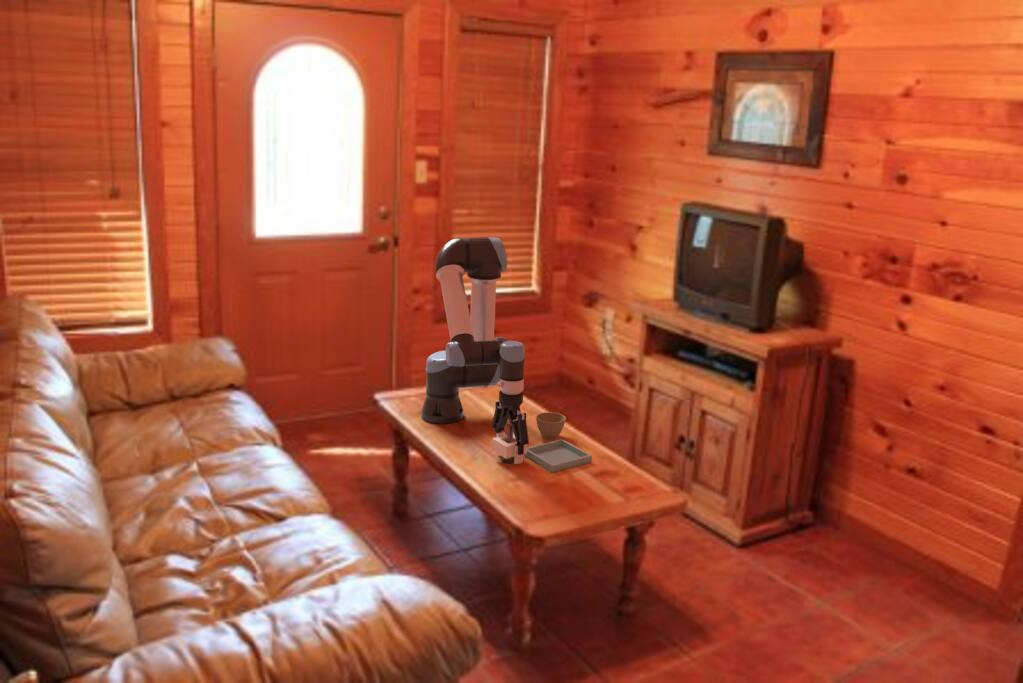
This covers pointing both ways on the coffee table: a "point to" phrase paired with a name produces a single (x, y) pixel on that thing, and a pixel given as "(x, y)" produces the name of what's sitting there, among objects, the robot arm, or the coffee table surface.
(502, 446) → the ring
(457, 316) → the robot arm
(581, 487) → the coffee table surface
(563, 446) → the tray
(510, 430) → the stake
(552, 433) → the flower pot
